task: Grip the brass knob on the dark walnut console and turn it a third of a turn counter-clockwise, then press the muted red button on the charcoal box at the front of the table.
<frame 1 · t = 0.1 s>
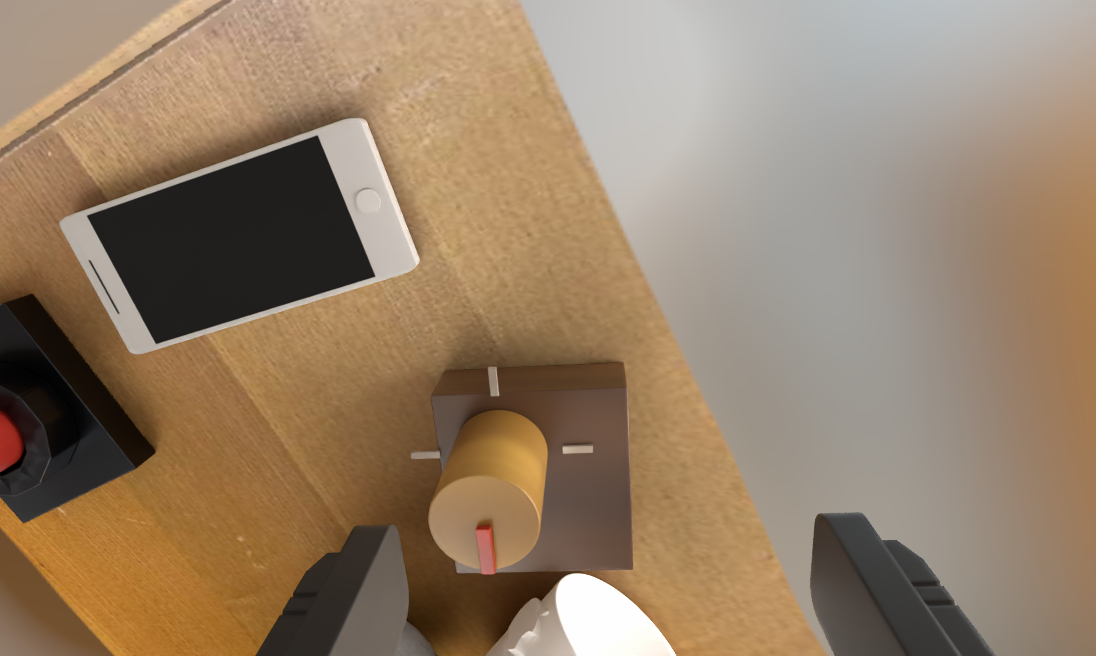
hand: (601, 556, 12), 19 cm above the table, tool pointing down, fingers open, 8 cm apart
knob: (492, 486, 27), point 6 cm above the table, hinge at 0.0°
smartphone: (247, 240, 30), on the table
decorative ball: (381, 634, 38), on the table
mug: (582, 645, 37), on the table
button box: (40, 406, 34), on the table
console: (540, 454, 33), on the table
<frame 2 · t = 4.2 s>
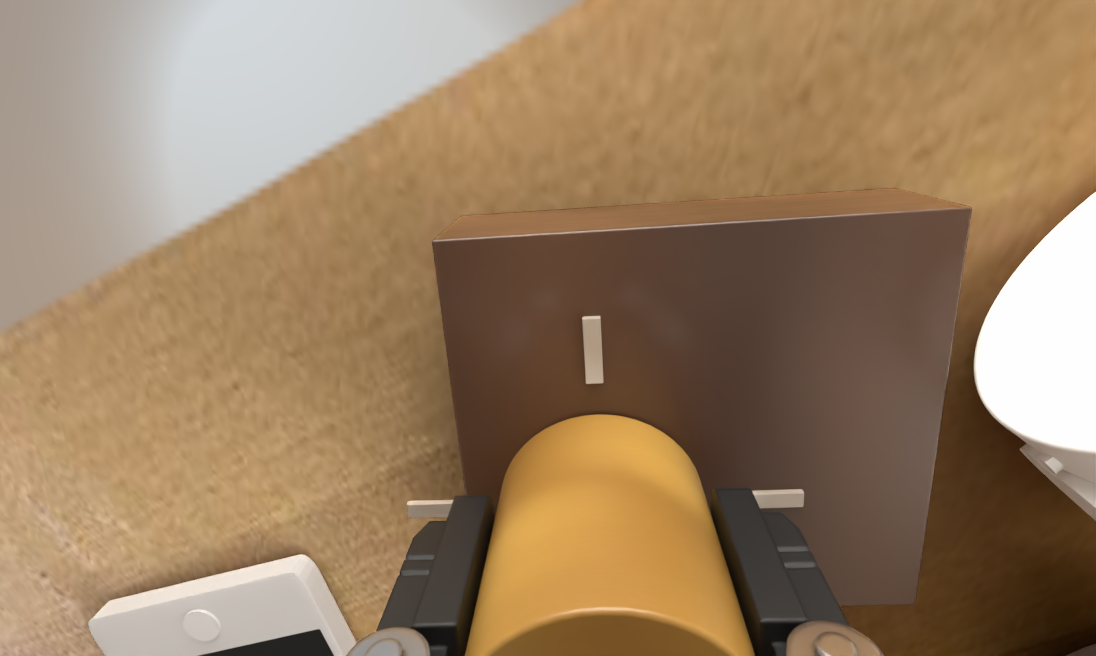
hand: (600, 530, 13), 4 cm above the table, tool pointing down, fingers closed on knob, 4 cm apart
knob: (605, 600, 11), point 6 cm above the table, hinge at 0.0°, touching gripper
console: (674, 380, 16), on the table
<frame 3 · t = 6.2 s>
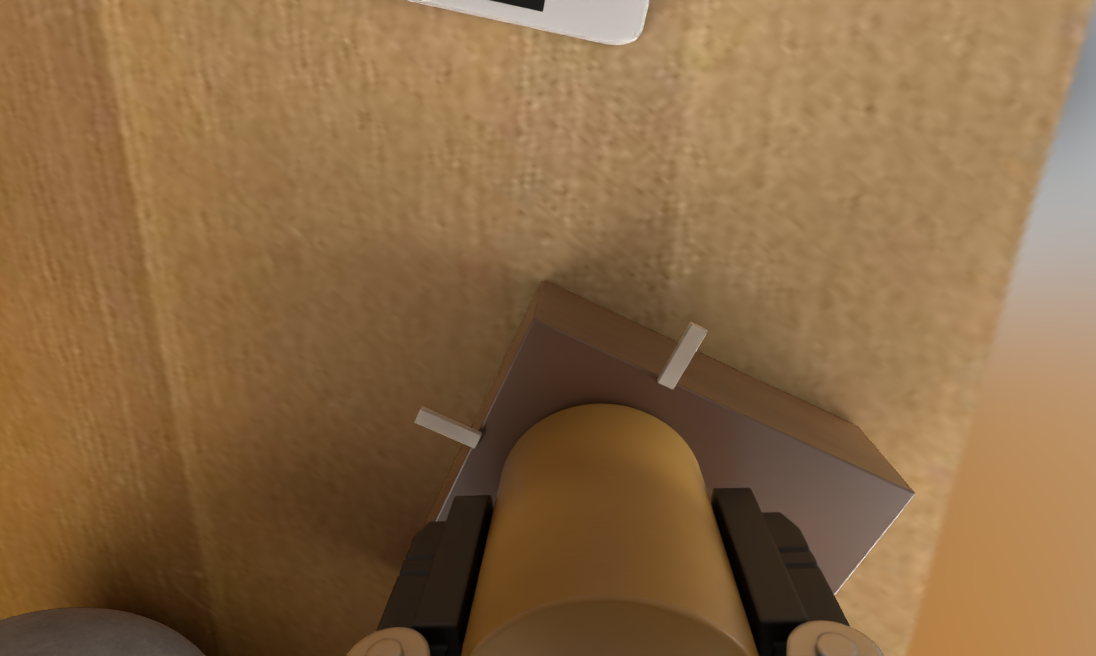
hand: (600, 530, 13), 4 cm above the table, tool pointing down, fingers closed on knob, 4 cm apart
knob: (604, 588, 11), point 6 cm above the table, hinge at 124.4°, touching gripper
decorative ball: (156, 655, 21), on the table
console: (614, 505, 17), on the table
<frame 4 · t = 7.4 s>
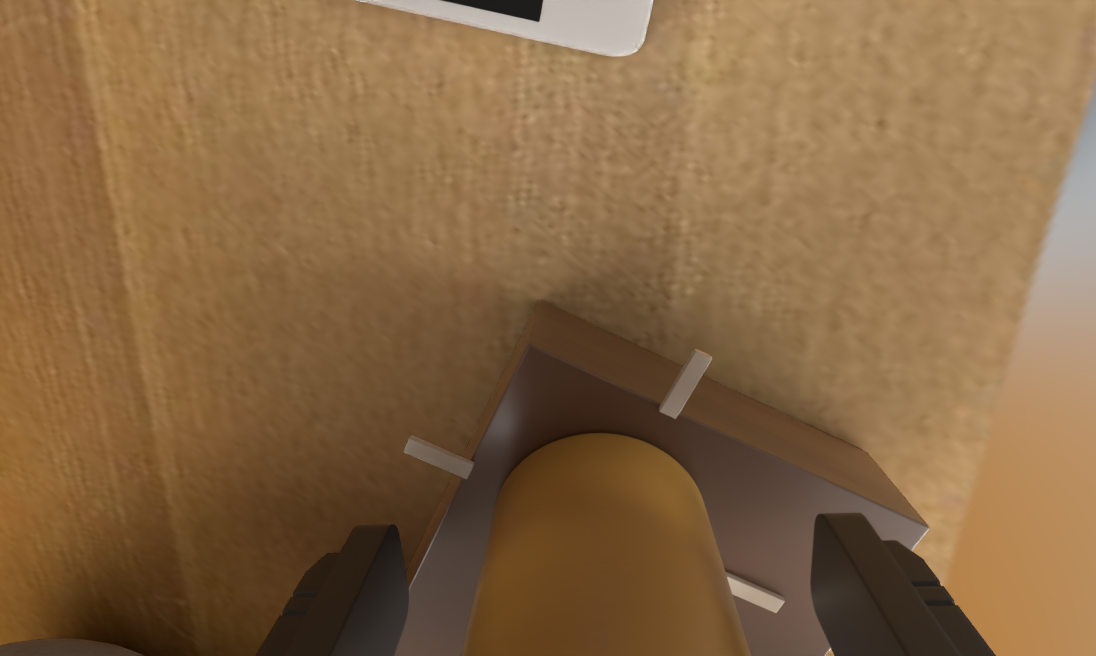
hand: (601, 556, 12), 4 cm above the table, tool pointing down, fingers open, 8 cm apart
knob: (603, 635, 10), point 6 cm above the table, hinge at 123.7°
console: (613, 532, 17), on the table
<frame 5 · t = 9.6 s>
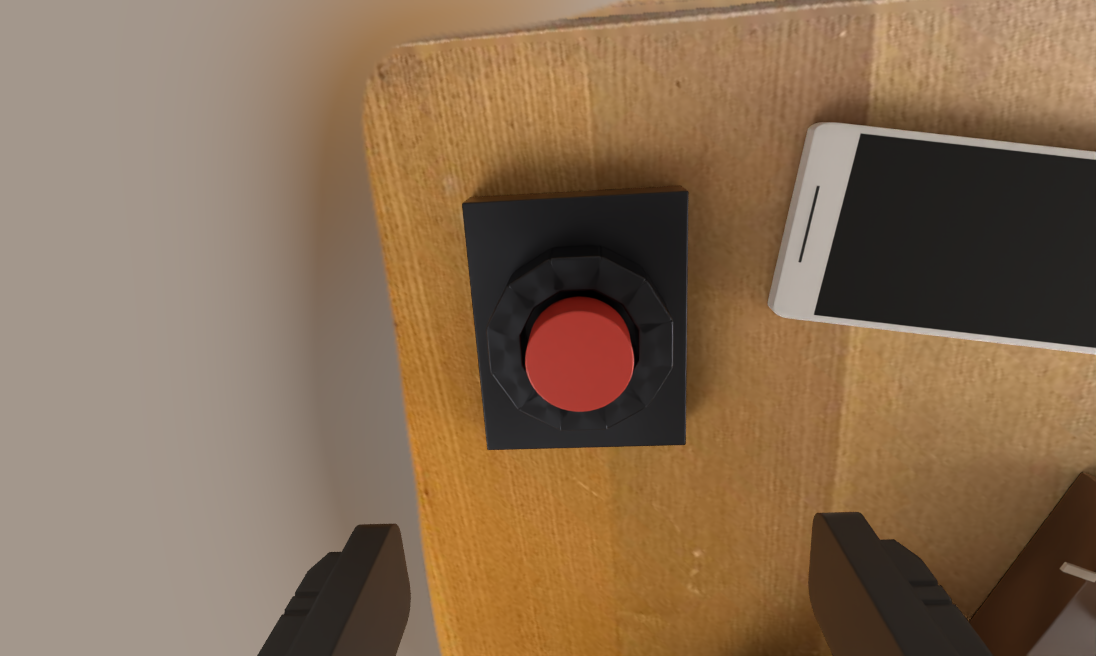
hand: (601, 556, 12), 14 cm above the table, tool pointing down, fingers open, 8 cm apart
smartphone: (990, 242, 24), on the table
button box: (580, 317, 25), on the table
button: (579, 353, 22), point 4 cm above the table, slide at 0.2 cm
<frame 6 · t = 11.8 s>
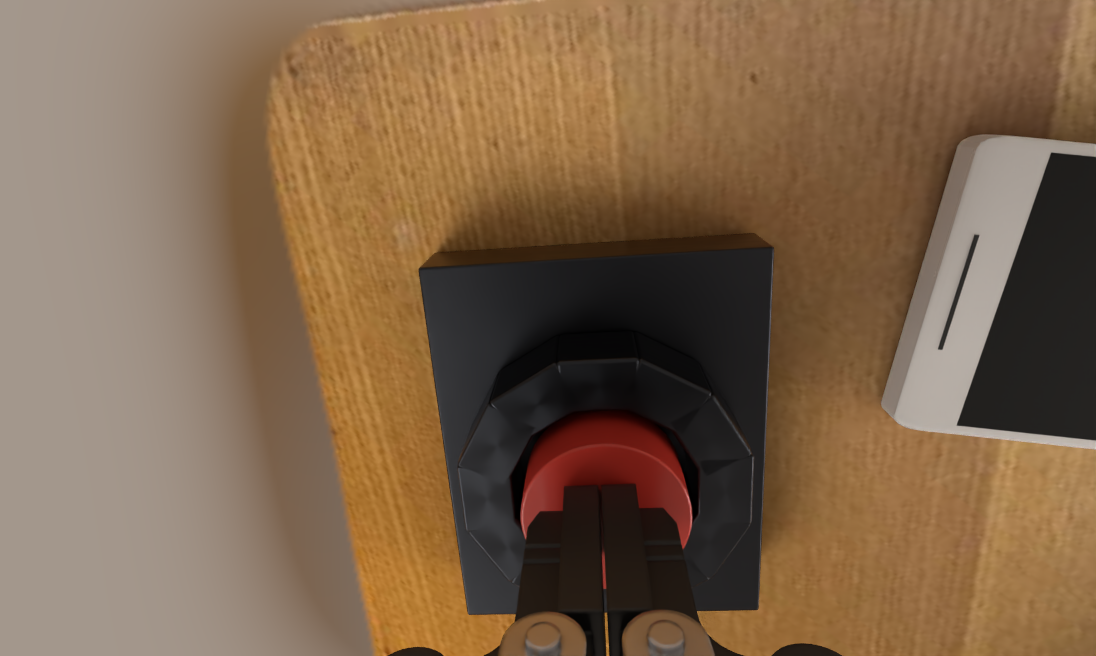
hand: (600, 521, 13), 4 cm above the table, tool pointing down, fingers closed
button box: (600, 421, 17), on the table
button: (604, 496, 14), point 4 cm above the table, slide at -0.3 cm, touching gripper
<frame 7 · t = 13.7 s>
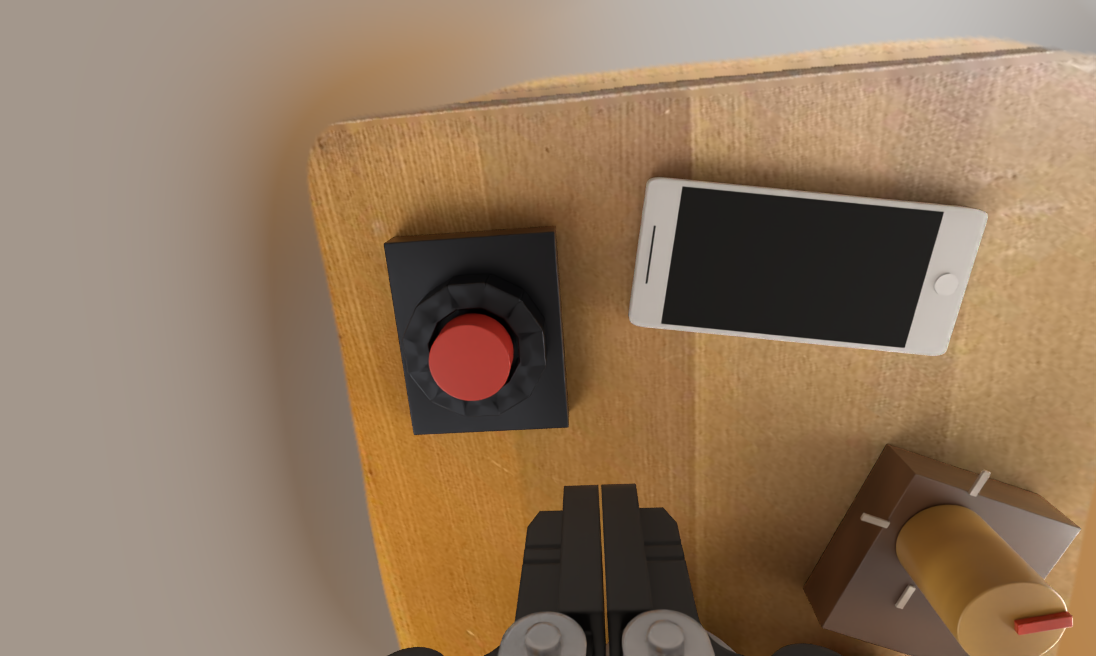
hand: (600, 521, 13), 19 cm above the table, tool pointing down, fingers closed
knob: (975, 582, 29), point 6 cm above the table, hinge at 123.7°
smartphone: (795, 265, 31), on the table
button box: (484, 328, 32), on the table
console: (916, 543, 35), on the table
button: (472, 356, 28), point 4 cm above the table, slide at 0.2 cm
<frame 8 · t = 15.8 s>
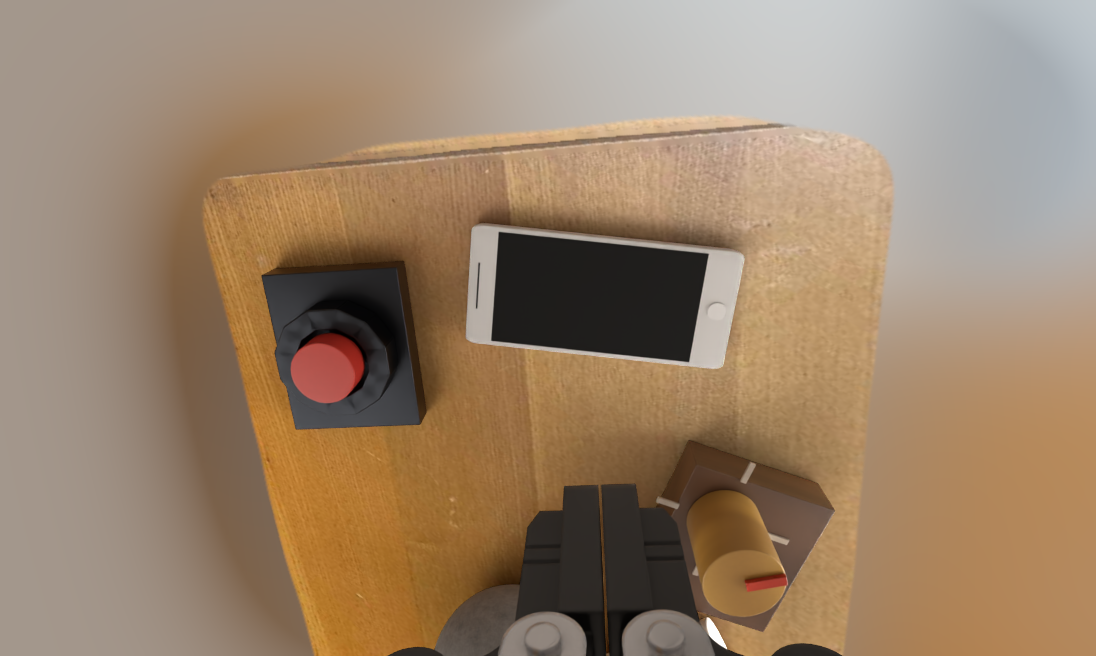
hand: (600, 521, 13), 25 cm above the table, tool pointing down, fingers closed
knob: (733, 551, 36), point 6 cm above the table, hinge at 123.7°
smartphone: (600, 294, 38), on the table
decorative ball: (517, 607, 46), on the table
button box: (353, 342, 39), on the table
console: (721, 522, 42), on the table
button: (328, 367, 36), point 4 cm above the table, slide at 0.2 cm
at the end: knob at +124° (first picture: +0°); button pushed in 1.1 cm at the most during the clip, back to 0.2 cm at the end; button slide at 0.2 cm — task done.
